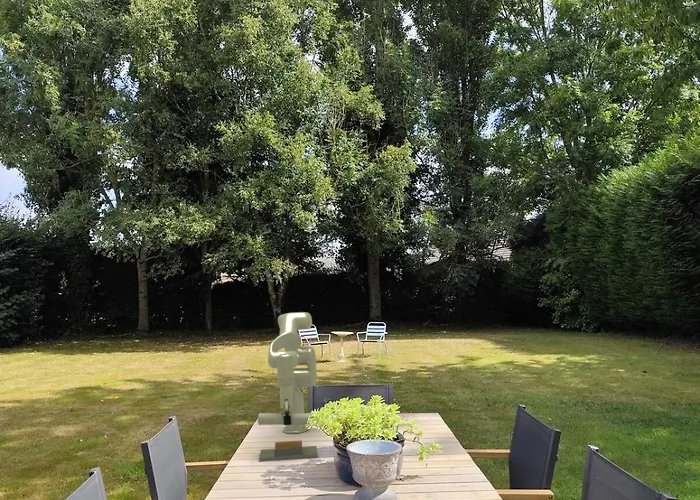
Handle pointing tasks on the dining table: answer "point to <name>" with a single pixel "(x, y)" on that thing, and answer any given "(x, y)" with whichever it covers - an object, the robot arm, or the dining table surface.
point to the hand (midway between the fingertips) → (287, 422)
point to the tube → (282, 418)
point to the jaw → (288, 444)
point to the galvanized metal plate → (288, 453)
